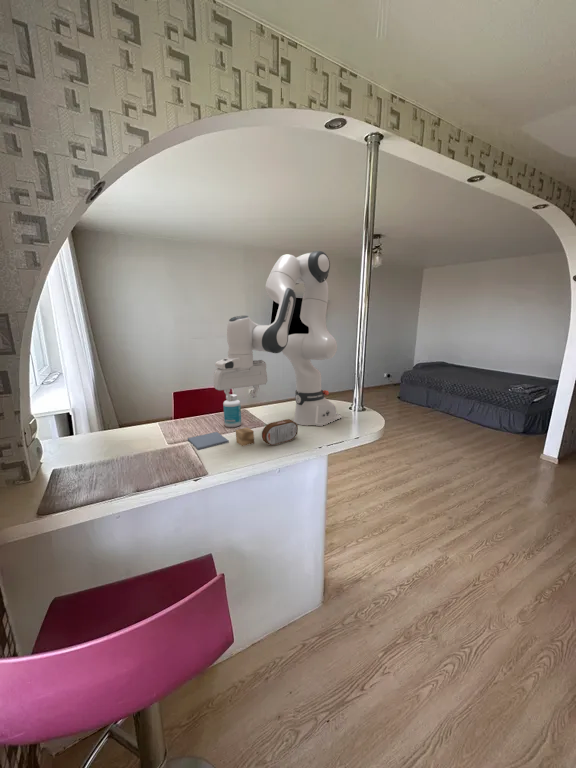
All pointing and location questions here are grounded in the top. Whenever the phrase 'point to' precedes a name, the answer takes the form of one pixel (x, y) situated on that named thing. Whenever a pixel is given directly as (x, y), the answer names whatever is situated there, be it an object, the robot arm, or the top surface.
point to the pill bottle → (232, 412)
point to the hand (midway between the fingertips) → (242, 398)
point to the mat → (207, 440)
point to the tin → (279, 432)
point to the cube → (245, 436)
